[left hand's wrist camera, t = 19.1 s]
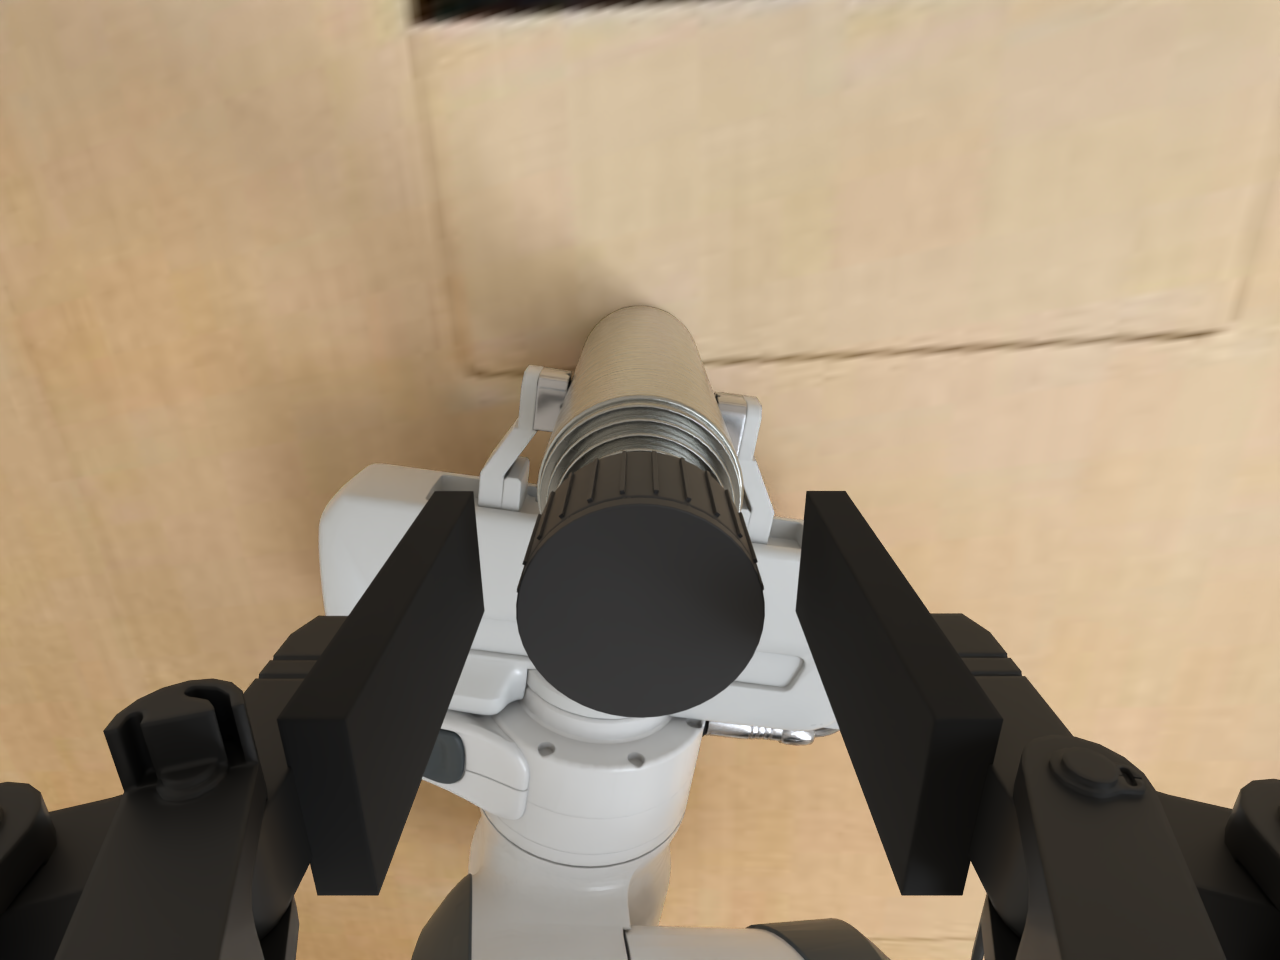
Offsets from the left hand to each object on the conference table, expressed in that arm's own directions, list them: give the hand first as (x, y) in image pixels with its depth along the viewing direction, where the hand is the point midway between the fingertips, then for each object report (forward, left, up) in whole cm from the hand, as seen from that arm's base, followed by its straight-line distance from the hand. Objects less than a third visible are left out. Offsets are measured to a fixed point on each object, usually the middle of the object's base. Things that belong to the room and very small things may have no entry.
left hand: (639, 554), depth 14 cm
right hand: (-1, 0, -10) cm, 10 cm away
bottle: (0, 0, -17) cm, 17 cm away
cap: (0, 0, +2) cm, 2 cm away
